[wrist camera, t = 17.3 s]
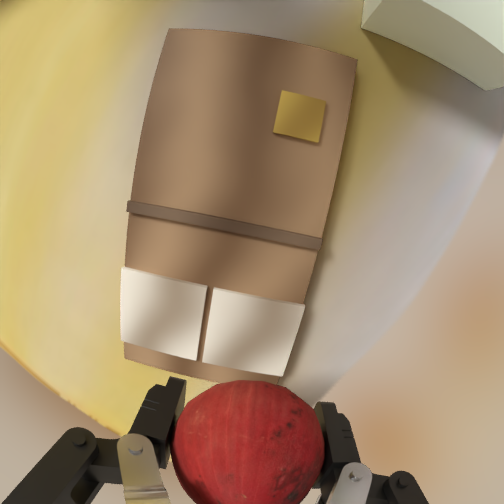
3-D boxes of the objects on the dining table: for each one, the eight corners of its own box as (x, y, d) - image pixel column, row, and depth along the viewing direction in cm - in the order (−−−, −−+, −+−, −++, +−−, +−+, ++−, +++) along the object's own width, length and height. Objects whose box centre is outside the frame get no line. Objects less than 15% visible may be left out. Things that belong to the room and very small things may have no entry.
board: (128, 350, 20) (121, 361, 18) (172, 34, 14) (165, 25, 12) (275, 383, 20) (276, 395, 19) (354, 65, 14) (361, 57, 13)
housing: (360, 28, 13) (392, -14, 8) (366, -29, 11) (390, -70, 6) (485, 91, 13) (533, 80, 8) (482, 32, 12) (522, 14, 6)
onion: (295, 326, 12) (325, 503, 4) (321, 412, 13) (346, 547, 6) (171, 356, 13) (107, 504, 5) (218, 433, 14) (197, 557, 6)
